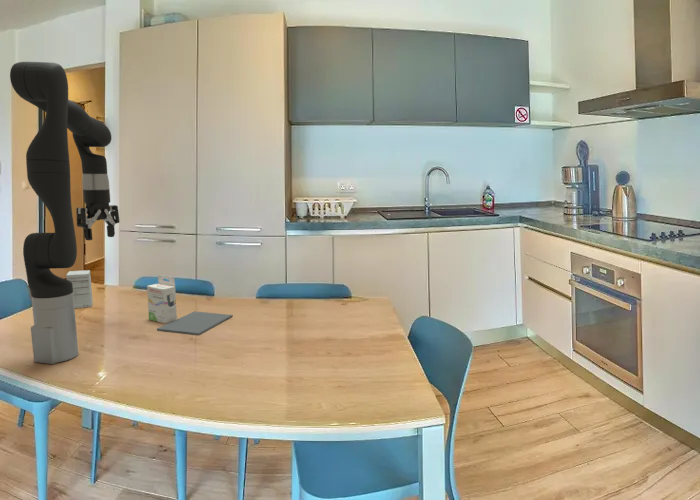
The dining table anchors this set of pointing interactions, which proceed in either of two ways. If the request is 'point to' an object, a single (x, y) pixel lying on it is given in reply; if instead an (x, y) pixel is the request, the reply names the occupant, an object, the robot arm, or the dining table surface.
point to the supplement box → (81, 288)
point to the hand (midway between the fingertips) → (100, 238)
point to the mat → (195, 323)
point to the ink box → (162, 300)
